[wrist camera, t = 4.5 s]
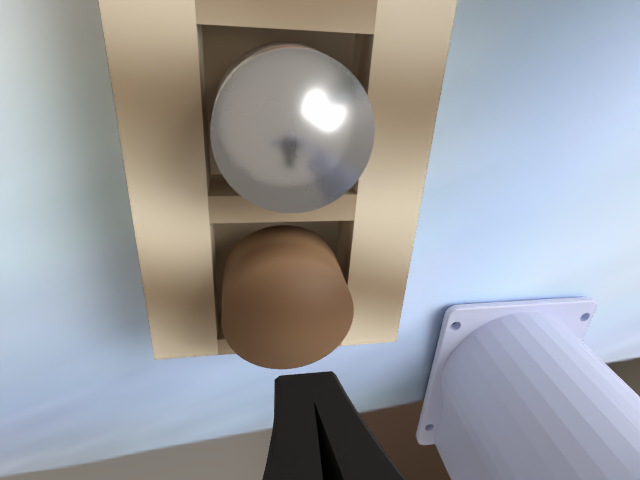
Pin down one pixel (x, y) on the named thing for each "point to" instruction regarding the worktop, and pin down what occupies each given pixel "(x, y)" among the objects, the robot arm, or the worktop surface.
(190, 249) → the light wooden flat frame
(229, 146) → the steel button
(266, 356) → the walnut button
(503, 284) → the worktop surface
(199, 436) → the worktop surface
